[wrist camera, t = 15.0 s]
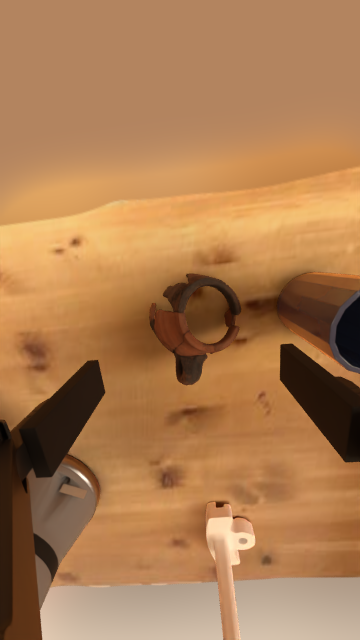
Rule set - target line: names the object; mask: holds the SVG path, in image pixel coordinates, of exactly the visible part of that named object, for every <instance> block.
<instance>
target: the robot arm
mask: <svg viewBox="0 0 360 640" xmlns="http://www.w3.org/2000/svg"><path fill="white" fill-rule="evenodd" d="M280 380H281V382H282V383H283V384H284V385H285V387H286V388H287V389H288V390H289V392H290V393H291V394H292V395H293V397H294V398H295V399H296V401H297V402H298V403H299V404H300V406H301V407H302V408H303V409H304V411H305V412H306V413H307V414H308V416H309V417H310V418H311V420H312V421H313V422H314V423H315V425H316V426H317V427H318V428H319V430H320V431H321V432H322V433H323V435H324V436H325V437H326V438H327V440H328V441H329V442H330V444H331V445H332V446H333V447H334V449H335V450H336V451H337V452H338V454H339V455H340V456H341V457H342V459H343V460H344V461H345V462H360V388H359V387H358V386H357V385H355V384H354V383H353V382H351V381H349V380H347V379H345V378H342V377H334V376H333V375H332V374H330V373H329V372H328V371H327V370H325V369H324V368H323V367H321V366H320V365H319V364H318V363H316V362H315V361H314V360H312V359H311V358H310V357H308V356H307V355H306V354H305V353H303V352H302V351H301V350H299V349H298V348H297V347H296V346H294V345H293V344H281V350H280ZM104 394H105V389H104V384H103V380H102V375H101V371H100V366H99V362H98V360H91V361H87V362H86V363H85V364H84V365H83V366H82V367H81V368H80V369H79V370H78V371H77V372H76V373H75V374H74V375H73V376H72V377H71V378H70V379H69V380H68V381H67V382H66V383H65V384H64V385H63V386H62V387H61V388H60V389H59V390H58V391H57V392H56V393H55V394H54V395H53V396H52V397H51V398H50V399H47V400H45V401H44V402H42V403H41V404H39V405H38V406H37V407H36V408H35V409H34V410H33V411H32V412H31V413H30V414H29V415H27V416H26V418H24V419H23V420H22V421H21V422H20V423H19V424H18V425H17V426H16V427H15V428H14V429H13V430H12V431H11V432H10V431H9V428H8V426H7V423H6V421H5V420H0V640H42V631H41V619H40V609H41V607H42V604H43V602H44V600H45V597H46V595H47V593H48V590H49V588H50V586H51V583H52V581H53V579H54V576H55V574H56V572H57V569H58V567H59V565H60V563H61V561H62V559H63V558H64V557H65V555H66V554H67V552H68V551H69V549H70V548H71V547H72V545H73V544H74V542H75V541H76V540H77V538H78V537H79V535H80V534H81V532H82V531H83V529H84V528H85V526H86V525H87V524H88V523H89V521H90V520H91V518H92V517H93V515H94V512H95V510H96V507H97V504H98V502H99V499H100V487H99V484H98V481H97V479H96V477H95V476H94V474H93V473H92V472H91V471H90V469H89V468H88V467H87V466H85V465H84V464H83V463H82V462H80V461H79V460H77V459H75V458H73V457H71V456H69V455H67V453H68V451H69V450H70V448H71V446H72V445H73V443H74V442H75V440H76V438H77V437H78V435H79V434H80V432H81V431H82V429H83V427H84V426H85V424H86V423H87V421H88V419H89V418H90V416H91V415H92V413H93V411H94V410H95V408H96V407H97V405H98V404H99V402H100V400H101V399H102V397H103V396H104Z"/></svg>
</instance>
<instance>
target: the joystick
mask: <svg viewBox="0 0 360 640" xmlns="http://www.w3.org/2000/svg"><path fill="white" fill-rule="evenodd" d="M205 518H206V536H207V543H208V547H209V550H210V552H211V555H212V556H213V558H214V560H215V561H216V569H217V579H218V589H219V599H220V609H221V619H222V630H223V640H240V632H239V624H238V616H237V607H236V599H235V590H234V582H233V574H232V565H238V564H239V563H240V559H239V553H238V550H246V549H249V548H251V547H253V546H254V545H255V542H256V541H255V536H254V532H253V528H252V524H251V523H250V522H249V521H247V520H246V519H244V518H235V519H233V518H232V511H231V506H230V505H229V504H224V506H223V507H221V508H216V503H215V502H209V503H208V504H207V508H206V517H205Z"/></svg>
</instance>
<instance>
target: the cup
mask: <svg viewBox="0 0 360 640" xmlns="http://www.w3.org/2000/svg"><path fill="white" fill-rule="evenodd" d="M277 312H278V316H279V318H280V320H281V322H282V323H283V324H284V325H285V326H286V327H287V328H288V329H290V330H291V331H292V332H293V333H295V334H296V335H298V336H299V337H301V338H302V339H303V340H305V341H306V342H308V343H309V344H311V345H312V346H314V347H315V348H316V349H318V350H319V351H321V352H322V353H324V354H325V355H326V356H328V357H329V358H331V359H332V360H334V361H335V362H337V363H338V364H339V365H341V366H342V367H344V368H345V369H347V370H349V371H352V372H355V373H359V374H360V276H359V275H347V274H336V273H324V272H310V273H305V274H302V275H299V276H297V277H295V278H294V279H292V280H291V281H290V282H289V283H288V284H287V285H286V286H285V287H284V288H283V290H282V291H281V293H280V295H279V298H278V302H277Z"/></svg>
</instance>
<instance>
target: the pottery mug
mask: <svg viewBox="0 0 360 640" xmlns="http://www.w3.org/2000/svg"><path fill="white" fill-rule="evenodd" d="M186 276H187V277H188V281H189V283H188V284H186V283H178V284H176V285H174V286H169V287H167V289H166V290H165V291H164V293H163V296H164V297H166V298H168V301H169V302H170V304H171V306H172V308H173V310H174V312H171V311H164V310H161V309H159V310H158V311H157V312H156V313H155V309H156V304H155V303H152V305H151V308H150V316H149V318H150V326H151V328H152V330H153V331H154V333H155V335H156V336H157V338H158V339H159V340H160V342H161V343H162V344H163V345H164V346H165V347H166V348H167V349H168V350H169V351H171V352H173V353H174V355H175V358H176V376H177V379H178V381H179V382H180V383H182V384H184V385H193V384H194V383H196V382H197V381H198V380H199V378H200V376H201V373H202V365H203V362H204V361H205V360H206V359H207V355H206V353H210V354H212V353H214V352H218V351H221V350H223V349H225V348H226V347H228V346H229V345H230V344H231V343H232V342H233V341H234V339H235V338H236V336H237V334H238V332H239V327H238V326H234V324H235V315H239V314H240V312H241V306H240V303H239V300H238V298H237V296H236V294H235V292H234V291H233V290H232V289H231V288H230V287H229V286H228V285H226V283H224V282H223V281H222V280H219V279H216V278H212V277H209V276H203V275H198V274H187V275H186ZM203 286H210V287H214V288H216V289H218V290H219V291H220V292H221V293H222V294H223V295H224V296H225V298H226V299H227V302H228V304H229V311H227V312H226V313H225V324H226V326H227V327H229V329H228V331H227V333H226V335H225V336H224V337H223V338H222V339H221V340H220V341H219V342H217V343H214V344H205V343H202V342H200V341H198V340H197V339H196V338H195V337H194V336H193V335H192V334H191V332H190V331H189V328H188V326H187V323H186V316H185V309H186V304H187V301H188V299H189V297H190V296H191V294H192V293H193V292H194V291H195V290H196V289H198V288H199V287H203ZM154 315H155V319H154Z"/></svg>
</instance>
